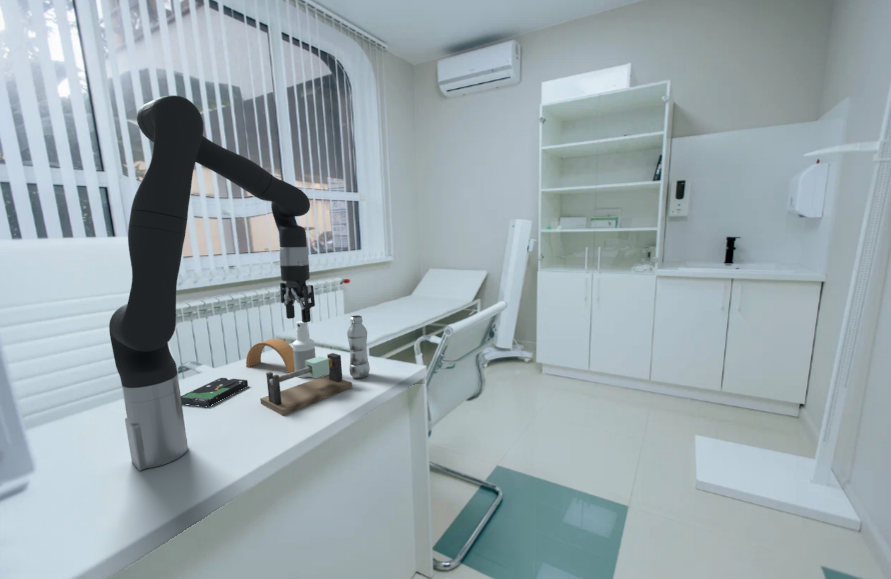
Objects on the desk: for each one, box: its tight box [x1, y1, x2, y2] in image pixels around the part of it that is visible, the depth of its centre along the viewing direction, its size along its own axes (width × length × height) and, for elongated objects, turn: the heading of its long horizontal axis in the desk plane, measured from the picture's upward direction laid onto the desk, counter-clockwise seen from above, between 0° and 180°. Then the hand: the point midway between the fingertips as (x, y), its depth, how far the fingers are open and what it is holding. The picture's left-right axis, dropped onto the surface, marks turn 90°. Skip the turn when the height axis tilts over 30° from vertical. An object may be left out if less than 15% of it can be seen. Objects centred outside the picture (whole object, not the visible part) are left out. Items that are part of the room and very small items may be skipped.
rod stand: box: [259, 352, 353, 416], centre depth 110 cm, size 22×12×10 cm, turn 141°
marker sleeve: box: [305, 355, 330, 379], centre depth 112 cm, size 5×4×4 cm
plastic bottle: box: [346, 315, 371, 379], centre depth 122 cm, size 6×7×20 cm
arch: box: [245, 338, 295, 374], centre depth 134 cm, size 6×20×10 cm, turn 67°
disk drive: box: [181, 377, 249, 408], centre depth 113 cm, size 10×3×15 cm
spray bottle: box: [292, 320, 317, 379], centre depth 126 cm, size 7×7×18 cm
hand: (298, 320), depth 109 cm, fingers open, 8 cm apart
